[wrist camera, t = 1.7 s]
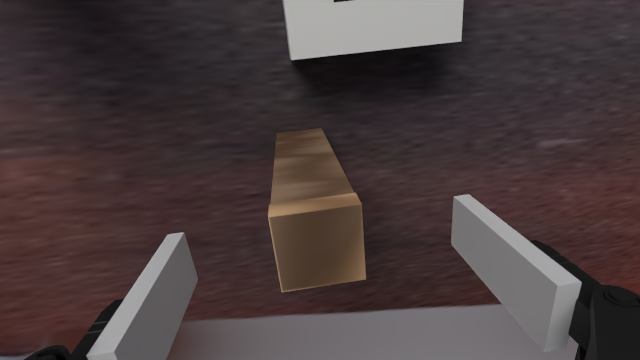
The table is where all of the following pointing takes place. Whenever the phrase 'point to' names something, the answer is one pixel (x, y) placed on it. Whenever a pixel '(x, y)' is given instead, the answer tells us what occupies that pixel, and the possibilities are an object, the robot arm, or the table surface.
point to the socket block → (368, 25)
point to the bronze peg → (314, 214)
